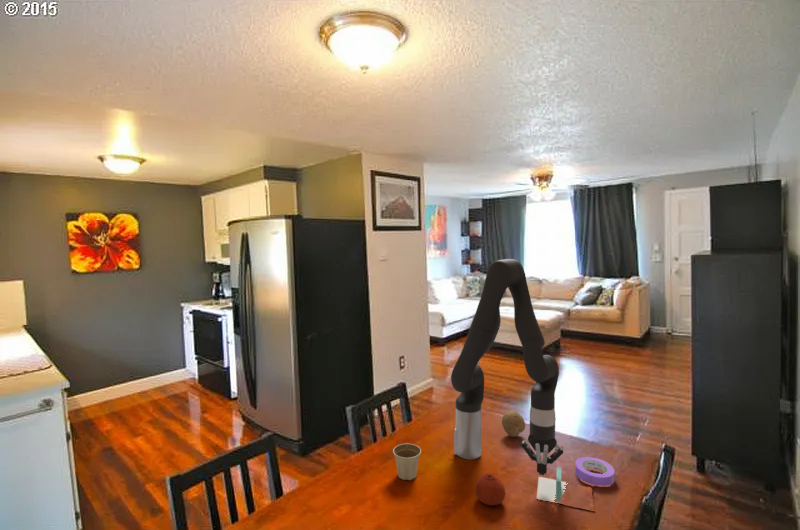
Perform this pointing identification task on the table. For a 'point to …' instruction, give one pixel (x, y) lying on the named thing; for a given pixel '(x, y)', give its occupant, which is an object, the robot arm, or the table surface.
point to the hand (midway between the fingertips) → (541, 473)
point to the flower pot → (407, 460)
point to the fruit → (490, 490)
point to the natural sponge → (513, 423)
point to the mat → (548, 489)
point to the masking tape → (591, 477)
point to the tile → (558, 484)
